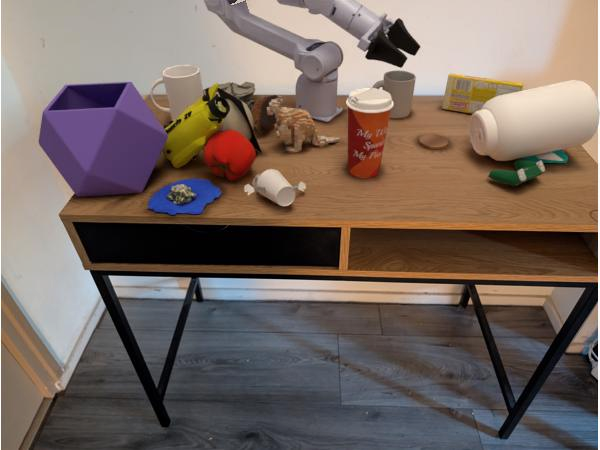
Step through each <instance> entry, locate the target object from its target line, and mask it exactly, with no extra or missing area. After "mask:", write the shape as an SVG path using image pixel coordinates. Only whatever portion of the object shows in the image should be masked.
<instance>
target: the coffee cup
mask: <svg viewBox="0 0 600 450" xmlns="http://www.w3.org/2000/svg"><path fill="white" fill-rule="evenodd" d="M345 104H346V106H347V171H348V172H349V173H350V175H352V176H354V177H357V178H359V179H360V178H361V179H371V178H373V177H375V176H377V175H378V174H379V172H380V169H381V168H380V167H381V162H382V158H383V153H384V149H385V148H384V147H385V142H386V137H387V132H388V127H389V122H390V121H389V120H390V118H389V116H390V111H391V108H392V107H393V105H394V104H393V101H392V97H391V95H390V94H389V93H388V92H386V91H384V90H382V88H379V89H377V88H372V87H361V88H356V89H354V90H352V91H350V93H349V95H348V97H347V99H346V101H345Z"/></svg>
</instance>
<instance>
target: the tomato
mask: <svg viewBox="0 0 600 450" xmlns="http://www.w3.org/2000/svg"><path fill="white" fill-rule="evenodd" d="M256 155H257V153H256V149H255V148H254V147H253V145H252V143H251V142H249V141H248V140H247V139H246V138H245V137H244V136H243V135H242V134H241V133H239V132H237V131H234V130H226V131H218V132H217V133H215V134H214V135H213V136H212V137H211V138H210V140H209V141H208V142H207V144H206V146H205V147H204V152H203V159H204V162H205V164H206V165H208V169H209V170H210V172H211V173H212V174H213V175H215V176H216V177H221V178H223V177H226V178H227V180H228V181H230V182H232V181H235V180H239V179H240V178H242V177H243V176H244V175H246V174H247V173H248V172H249V170H250V169H251V168H252V165H253V164H254V161H255V159H256Z"/></svg>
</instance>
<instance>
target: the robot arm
mask: <svg viewBox="0 0 600 450" xmlns="http://www.w3.org/2000/svg"><path fill="white" fill-rule="evenodd" d="M236 1H237V0H203V2H204V4H205V7H206V9H207V11H208V12H211V13H213V14H215V15H216V16H217V17H218V18H219V19H220V21H222V22H223V23H224V25H225V26H226V27H228V29H229V30H230V31H232V32H233V33H235V34H237V35H239V36H241V37H242V38H245V39H247V40H250V41H252V42H254V43H256V44H258V45H260V46H262V47H264V48H266V49H268V50H270V51H273V52H275V53H277V54H279V55H282V56H283V57H285V58H287V59H289V60H292V61H293V64H294V68H295V69H296V70H298V71H300V72H301V74H300V75H299V76H298V77H297V80H296V82H295V108H296V109H302V110H306V111H307V112H308V113H309V115H310V116H311V118H312V120H313V119H314V120H317V121H319V122H320V121H321V122H325V123H329V122H331V121H332V120H333V119H335V118H336V117H337V116H338V115H340V114H341V113H342V112H344V108H342V107H339V106H338V83H339V68H340V67H341V66H342V64H343V63H344V62H343V61H344V51H343V49H342V47H341V46H340V44H338V43H337V42H335V41H332V40H327V41H323V40H322V39H321V40H320V39H318V38H305V37H303V36H301V35H298V34H296V33H295V32H292V31H290V30H288V29H286V28H284V27H281V26H279V25H277V24H275V23H272V22H270V21H269V20H266V19H264V18H262V17H259V16H257V15H255V14H253V13H251V11H249V9H248V6H247V3H246V0H245V1H243V2H240V3H237V4H234V5H231V4H232V3H235V2H236ZM276 2H277V3H278V4H280V5H284V6H287V7H288V6H289V7H294V8H300V9H305V10H306V9H307V10H308V11H307V12H308V13H309V14H310V15H314V16H315V15H322V16H323V17H325V18H327V20H329V21H330V22H332V23H333V24H335V26H338V27H339V28H341V29H342V30H344V31H345V32H347V33H348V34H349V35H351V36H352V37H354V38H355V39H357V40H358V42H357V45H356V47H357V48H358V49H359V50H360V51H362V52H364V53H365V56H364V58H365V59H366V60H368V61H378V62H383V63H386V64H388V65H392V66H394V67H397V68H400V69H402V68H403V67H404V65H405V63H406V62H407V60H408V56H407V55H406V54H408V55H411V56H413V57H415V56H416V55H417V54H418V52H419V51H420V50H421V45H420V43H419V42H418V41H417V40H416V39H415V38H414V37H413V36H412V34H410V32H409V31H408V29H407V27H406V25H405V23H404V21H403V19H401V18H400V17H399V18H396V19H395V20H393V19H392V18H387V17H388V13H387V12H383V13H382V14H380V15H378V14H377V13H375V12H374V11H372V10H371V9H369V8H368V7H366V6H365V5H363V4H362V3H360V2H359V1H357V0H276ZM402 51H403V52H405V53H406V54H405V53H403V52H402Z"/></svg>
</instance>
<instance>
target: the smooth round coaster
mask: <svg viewBox="0 0 600 450" xmlns="http://www.w3.org/2000/svg"><path fill="white" fill-rule="evenodd" d="M418 144H419V145H420V146H422V147H423V148H424V149H428V150H434V151H437V150H443V149H446V148H447V147H448V145H449V139H447V137H445V136H443V135H440V134H436V133H434V134H433V133H426V134H423V135H421V136H420V137H419V139H418Z"/></svg>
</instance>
